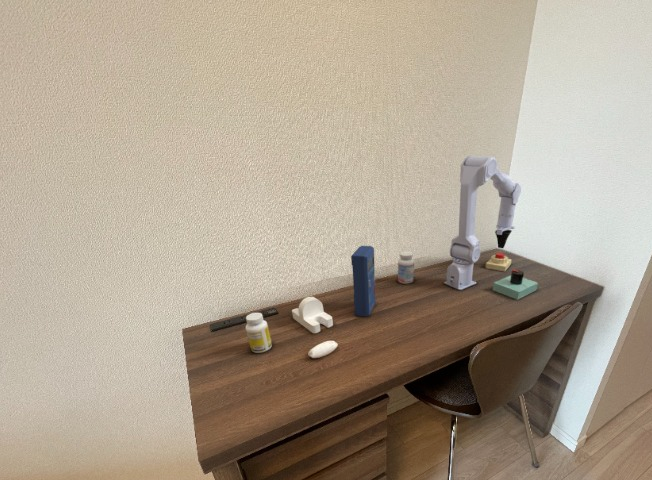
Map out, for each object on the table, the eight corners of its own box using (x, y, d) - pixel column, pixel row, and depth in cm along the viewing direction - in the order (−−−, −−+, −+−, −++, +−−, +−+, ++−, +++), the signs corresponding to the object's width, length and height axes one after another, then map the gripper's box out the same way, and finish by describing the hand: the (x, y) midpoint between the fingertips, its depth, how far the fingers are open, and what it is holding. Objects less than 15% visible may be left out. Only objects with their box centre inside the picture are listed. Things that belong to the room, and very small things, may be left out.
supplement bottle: (264, 339, 90) (258, 309, 85) (276, 346, 86) (269, 315, 82) (247, 348, 86) (238, 317, 81) (258, 356, 83) (250, 323, 78)
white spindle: (307, 357, 82) (306, 348, 81) (333, 345, 87) (332, 336, 85) (313, 363, 80) (312, 353, 79) (340, 350, 85) (339, 341, 83)
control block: (504, 271, 131) (506, 262, 129) (485, 268, 135) (486, 259, 133) (510, 264, 138) (512, 255, 137) (492, 260, 142) (493, 252, 141)
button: (502, 260, 133) (503, 256, 132) (494, 258, 135) (494, 254, 134) (505, 257, 136) (505, 253, 135) (496, 256, 137) (497, 252, 136)
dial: (524, 282, 114) (526, 271, 112) (517, 285, 111) (520, 274, 109) (514, 279, 116) (516, 268, 114) (507, 282, 114) (509, 271, 112)
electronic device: (369, 317, 100) (367, 256, 91) (354, 315, 101) (350, 255, 92) (376, 303, 108) (374, 246, 99) (361, 302, 109) (358, 245, 100)
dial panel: (517, 299, 109) (519, 291, 107) (492, 290, 116) (493, 282, 114) (536, 290, 115) (538, 282, 114) (511, 281, 122) (513, 273, 121)
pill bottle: (395, 279, 125) (395, 252, 120) (408, 276, 128) (409, 249, 123) (402, 285, 120) (402, 257, 115) (416, 282, 123) (417, 254, 118)
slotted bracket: (334, 325, 96) (331, 302, 92) (314, 334, 92) (310, 310, 88) (311, 310, 104) (308, 288, 101) (292, 317, 100) (288, 295, 97)
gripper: (512, 219, 119) (506, 254, 126) (520, 212, 130) (514, 244, 136) (493, 217, 123) (488, 251, 129) (503, 210, 134) (498, 242, 140)
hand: (500, 247), depth 133 cm, fingers closed
